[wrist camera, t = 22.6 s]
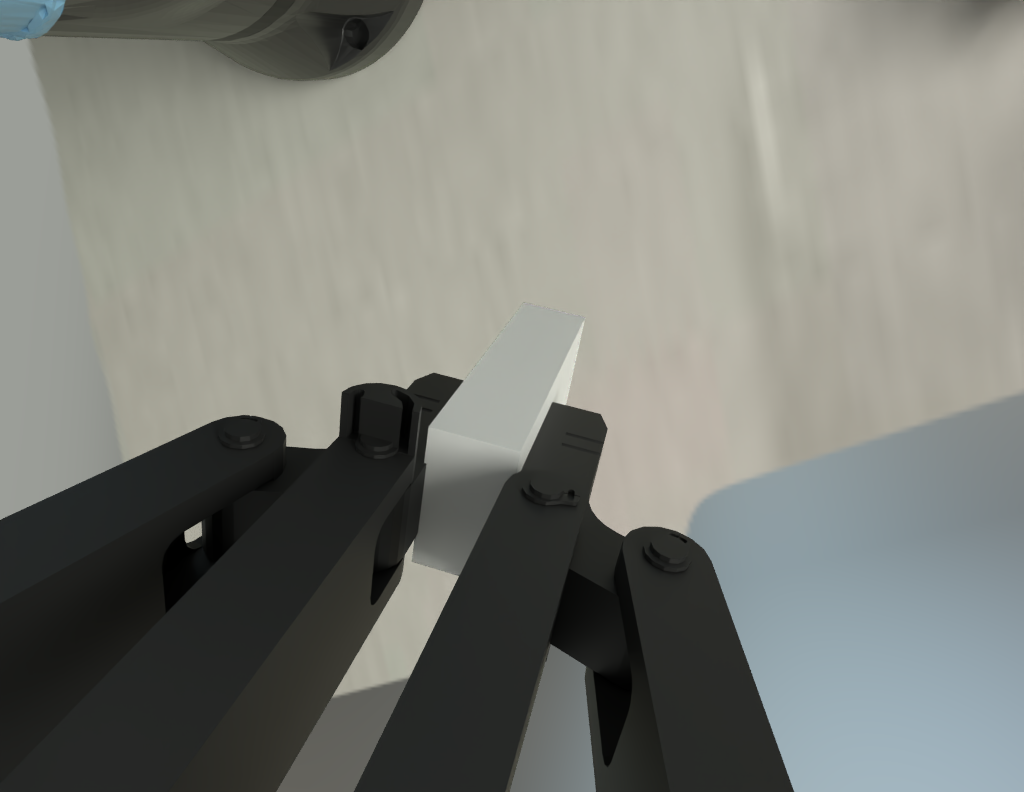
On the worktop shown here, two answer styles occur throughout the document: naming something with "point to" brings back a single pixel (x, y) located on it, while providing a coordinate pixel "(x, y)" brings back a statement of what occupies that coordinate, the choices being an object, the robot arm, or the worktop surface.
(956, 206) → the worktop surface
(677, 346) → the worktop surface
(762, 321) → the worktop surface
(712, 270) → the worktop surface
